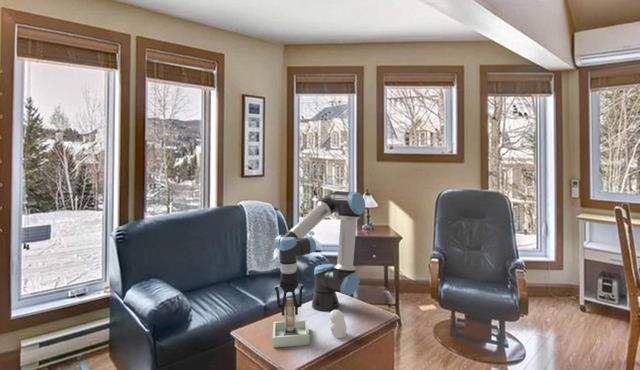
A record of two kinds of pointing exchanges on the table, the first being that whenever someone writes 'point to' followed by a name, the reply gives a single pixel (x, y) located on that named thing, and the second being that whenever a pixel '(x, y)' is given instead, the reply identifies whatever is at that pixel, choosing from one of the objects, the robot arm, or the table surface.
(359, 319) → the table surface
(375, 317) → the table surface
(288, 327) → the beige wooden dowel
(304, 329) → the green square socket tray
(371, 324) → the table surface
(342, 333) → the figurine
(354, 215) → the robot arm
